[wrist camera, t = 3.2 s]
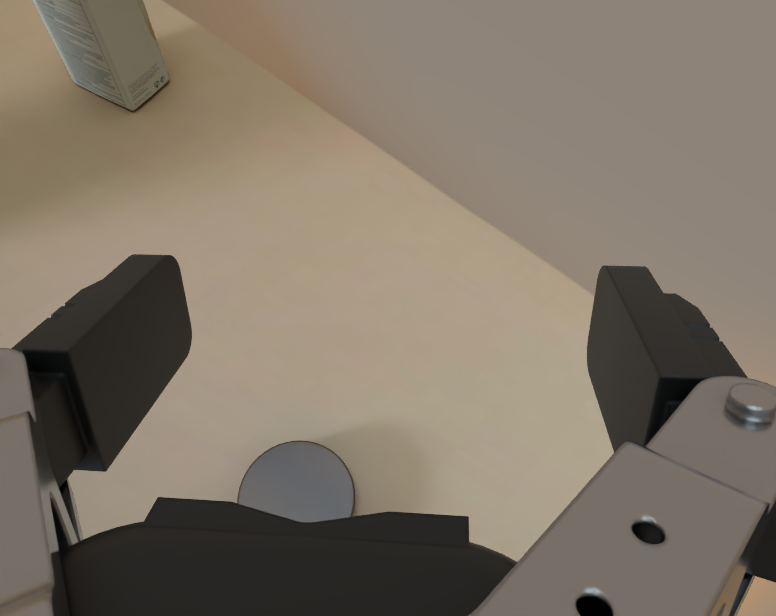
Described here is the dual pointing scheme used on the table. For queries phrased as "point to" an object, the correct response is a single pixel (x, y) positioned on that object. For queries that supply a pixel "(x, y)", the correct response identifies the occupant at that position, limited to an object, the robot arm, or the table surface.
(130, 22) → the cosmetic box
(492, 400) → the table surface
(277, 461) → the wooden spoon
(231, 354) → the table surface
